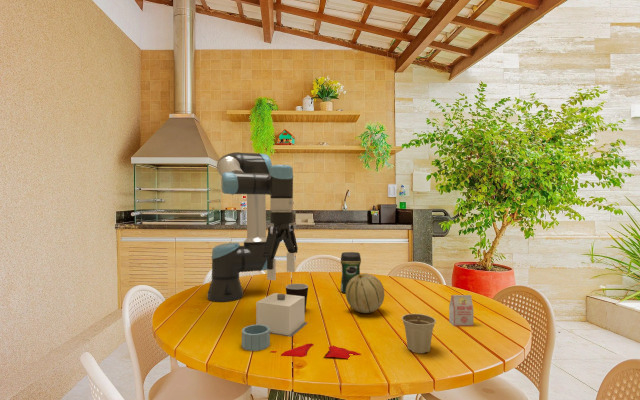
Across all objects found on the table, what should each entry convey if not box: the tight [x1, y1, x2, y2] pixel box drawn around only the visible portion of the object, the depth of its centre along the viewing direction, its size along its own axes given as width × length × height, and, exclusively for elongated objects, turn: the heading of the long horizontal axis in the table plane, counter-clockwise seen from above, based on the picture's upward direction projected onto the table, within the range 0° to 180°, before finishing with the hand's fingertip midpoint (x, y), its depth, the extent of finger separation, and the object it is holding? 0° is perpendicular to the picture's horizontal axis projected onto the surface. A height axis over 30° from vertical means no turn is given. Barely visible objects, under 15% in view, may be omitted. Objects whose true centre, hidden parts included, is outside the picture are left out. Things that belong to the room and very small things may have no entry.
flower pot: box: [401, 313, 437, 354], centre depth 96 cm, size 9×9×9 cm
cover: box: [255, 292, 306, 336], centre depth 112 cm, size 12×12×10 cm
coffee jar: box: [340, 251, 362, 294], centre depth 157 cm, size 10×8×19 cm
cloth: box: [270, 343, 362, 360], centre depth 94 cm, size 26×14×2 cm, turn 78°
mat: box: [270, 321, 308, 338], centre depth 112 cm, size 14×13×1 cm
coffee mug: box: [285, 283, 309, 312], centre depth 129 cm, size 12×9×10 cm
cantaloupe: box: [345, 273, 385, 314], centre depth 128 cm, size 15×15×15 cm
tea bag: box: [448, 294, 474, 327], centre depth 116 cm, size 4×7×10 cm, turn 91°
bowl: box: [241, 324, 271, 352], centre depth 97 cm, size 8×8×5 cm
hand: (281, 275), depth 112 cm, fingers open, 13 cm apart
